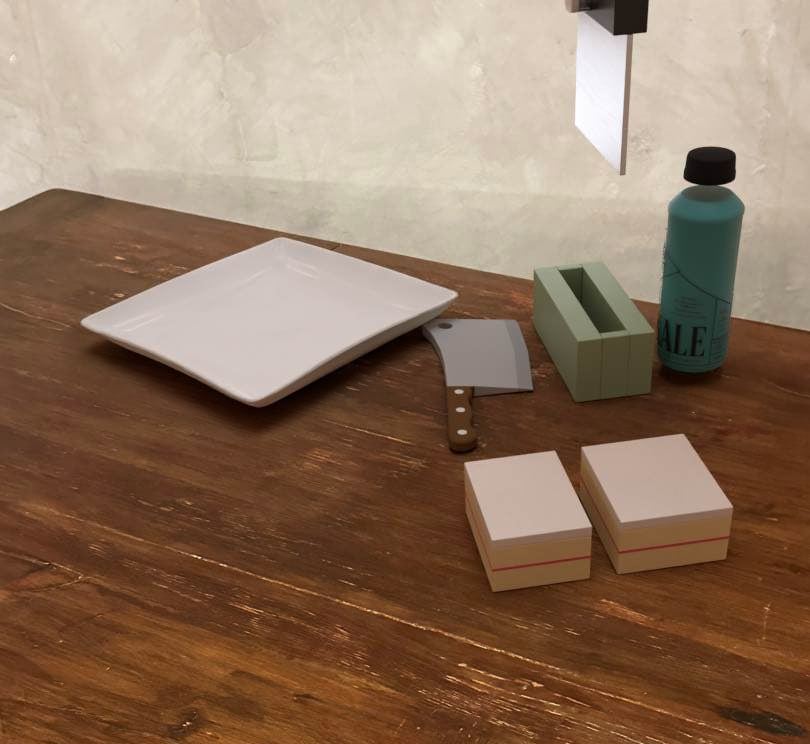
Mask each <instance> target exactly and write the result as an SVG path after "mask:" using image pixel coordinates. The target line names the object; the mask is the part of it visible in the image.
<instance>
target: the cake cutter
mask: <svg viewBox="0 0 810 744" xmlns="http://www.w3.org/2000/svg"><path fill="white" fill-rule="evenodd" d="M649 5H650V0H592V10H591V11H586V12H577V30H576V31H577V32H576V33H577V34H576V66H575V68H576V69H575V102H574V104H575V106H574V125H575V127H576V128H577V129H578V130H579V131H580V133H582V135H583V136H584V137H585V138H586V139H587V140H588V141H589V142H590V144H591V145H592V146H593V147H594V148H595V149H596V150H597V152H599V154H600V155H601V156H602V157H603V158H604V159H605V160H606V162H607V163H608V164H609V165H610V166H611V167H612V168H613V169H614V170H615V171H616V173H617V174H618V175H619V176H621V177H622V176H626V173H627V155H628V136H629V119H630V118H629V117H630V102H631V100H630V99H631V83H632V82H631V81H632V67H633V66H632V65H633V48H634V47H633V46H634V35H636V34H646V33H648V22H649Z"/></svg>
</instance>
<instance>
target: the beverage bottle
mask: <svg viewBox="0 0 810 744" xmlns="http://www.w3.org/2000/svg"><path fill="white" fill-rule="evenodd" d="M736 164H737V154H736V152H735V151H734V150H732V149H730V148H727V147H722V146H714V145H713V146H711V145H710V146H709V145H708V146H699V147H696V148H692V149H691V150H689V151H688V152H687V154H686V159H685V165H684V169H683V176H682V177H683V180H685V181H686V182H688V183H689V184H693V185H692V186H688V187H686V188H684V189H682V190H681V191H679V192H678V193H677V194H676V195H675V196H673V198H671V200H670V201H669V202H668V205H667V213H668V214H667V227H665V229H664V230H665V231H666V233H665V242H663V243H664V244H663V247H662V250H663V251H662V256H663V257H662V263H661V269H662V271H661V272H662V277H661V278H660V281H661V287H660V288H659V295H658V296H659V300H658V305H659V307H660V308H659V311H657V314H658V316H657V320H656V322H657V323H656V331H655V337H656V338H655V341H654V346H656V351H655V353H656V355H657V356H656V357H657V359H658V360H659V362H660V363H661V364H662V365H664V366H666V367H667V368H669V369H672V370H674V371H678V372H685V373H704V372H710V371H713V370H715V369H717V368H719V367H721V366H722V365H723V364H724V362H725V360H726V358H727V355H728V348H729V342H730V340H731V338H730V333H732V332H731V325H732V322H733V321H732V316H733V315H734V314H733V313H734V312H733V307H734V306H735V305H734V299H735V296H736V295H734V294H736V293H735V282H736V276H737V275H736V274H737V266H738V259H739V250H740V243H741V234H742V229H743V219H744V218H743V217H744V214H745V211H746V206H745V203H744V202H743V201H742V199H741V198H740V197H739V196H738V195H737V194H736V193H735V192H734V191H733V190H732V189H730V188H728V187H725V186H724V185H727V184H731V183H732V182H734V181H735V180H736V177H737V167H736V166H737V165H736Z"/></svg>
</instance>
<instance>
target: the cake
mask: <svg viewBox="0 0 810 744" xmlns="http://www.w3.org/2000/svg"><path fill="white" fill-rule="evenodd" d="M579 471H580V472H579V473H580V474H579V496H578V498H580V499H579V500H581V501H580V502H581V504H582V506H583V508H584V510H585V512H586V514H587V516H588V518H589V520H590V522H591V524H592V526H593V527H594V529H595V531H596V533H597V536H598V537H599V539H600V541H601V544H602V546H603V548H604V550H605V552H606V554H607V556H608V558H609V560H610V562H611V564H612V566H613V568H614V570H615V572H616V574H617V575H624V574H632V573H638V572H639V573H640V572H647V571H653V570H659V569H667V568H674V567H681V566H688V565H696V564H702V563H709V562H716V561H724V560H726V559H727V554H728V547H729V541H730V539H731V535H730V533H731V526H732V519H733V512H734V506H733V504H732V503H731V501H730V500H729V499H728V497H727V495H726V494H725V493H724V491H723V490H722V488H721V487H720V485H719V484H718V482H717V481H716V479H715V478H714V476H713V475H712V473H711V472H710V470H709V469H708V467H707V466H706V464H705V463H704V462H703V460H702V459H701V457H700V456H699V454H698V453H697V452H696V450H695V449H694V447H693V445H692V443H691V442H690V441H689V440H688V438H687V436H686V435H685V434H684V433H678V434H670V435H663V436H655V437H648V438H646V437H645V438H640V439H639V438H638V439H632V440H625V441H616V442H610V443H603V444H601V443H600V444H593V445H586V446H581V449H580V470H579Z"/></svg>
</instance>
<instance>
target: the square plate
mask: <svg viewBox="0 0 810 744" xmlns="http://www.w3.org/2000/svg"><path fill="white" fill-rule="evenodd" d="M458 297H459V293H458V292H457V291H455V290H453V289H450V288H447V287H444V286H440V285H437V284H435V283H432V282H429V281H425V280H423V279H420V278H417V277H414V276H411V275H408V274H406V273H403V272H400V271H397V270H394V269H391V268H388V267H384V266H382V265H378V264H375V263H372V262H369V261H365V260H362V259H359V258H356V257H353V256H351V255H346V254H344V253H340V252H336V251H333V250H330V249H326V248H324V247H320V246H317V245H313V244H310V243H306V242H303V241H300V240H295V239H292V238H288V237H282V236H281V237H275V238H273V239H271V240H268V241H265V242H263V243H261V244H258V245H256V246H253V247H251V248H248V249H245V250H242V251H239V252H237V253H235V254H231V255H229V256H226V257H224V258H221V259H219V260H216V261H214V262H211V263H208V264H206V265H204V266H200V267H198V268H196V269H193V270H191V271H189V272H188V271H187V272H185V273H184V274H181V275H179V276H176V277H174V278H172V279H169V280H167V281H165V282H162V283H159V284H157V285H155V286H153V287H150V288H148V289H146V290H144V291H142V292H140V293H137V294H135V295H133V296H130V297H128V298H126V299H124V300H121V301H119V302H117V303H115V304H113V305H110V306H107V307H106V308H103V309H102V310H99V311H96V312H95V313H92V314H90V315H88V316H86V317H84V318H83V319H81V321H80V325H81V326H82V327H83V328H85V329H87V330H89V331H92V332H93V333H96V334H98V335H99V336H101V337H103V338H105V339H106V340H108V341H110V342H112V343H114V344H116V345H118V346H119V347H123V348H124V349H126V350H129V351H131V352H134V353H137V354H139V355H142V356H144V357H147V358H148V359H152V360H153V361H157V362H159V363H161V364H163V365H166V366H168V367H170V368H172V369H174V370H176V371H177V372H180V373H183V374H185V375H187V376H189V377H190V378H192V379H195V380H197V381H198V382H201V383H202V384H205V385H206V386H208V387H210V388H212V389H214V390H215V391H218V392H219V393H222V394H224V395H225V396H227V397H229V398H230V399H232V400H233V399H234V400H235V401H238V402H241V403H243V404H245V405H248V406H251V407H255V408H263V407H268V406H269V405H271V404H274V403H276V402H278V401H279V400H282V399H283V398H286V397H287V396H289V395H291V394H293V393H295V392H297V391H299V390H301V389H303V388H305V387H306V386H308V385H310V384H312V383H314V382H316V381H317V380H319V379H322V378H323V377H325V376H327V375H328V374H331V373H333V372H334V371H336V370H338V369H340V368H342V367H343V366H345V365H347V364H349V363H351V362H354V361H356V360H357V359H359V358H361V357H362V356H365V355H366V354H368V353H370V352H372V351H374V350H376V349H379V348H380V347H383V346H385V345H386V344H388V343H390V342H391V341H393V340H394V339H396V338H399V337H400V336H402V335H405V334H407V333H409V332H411V331H413V330H414V329H416V328H418V327H420V326H422V324H424V323H426V322H428V321H430V320H431V319H436V317H439V315H441V314H442V313H443V312H444V311H445V310H447V308H448V307H450V306H451V305H452V303H453V302H454V301H455V300H456V299H458Z"/></svg>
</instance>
